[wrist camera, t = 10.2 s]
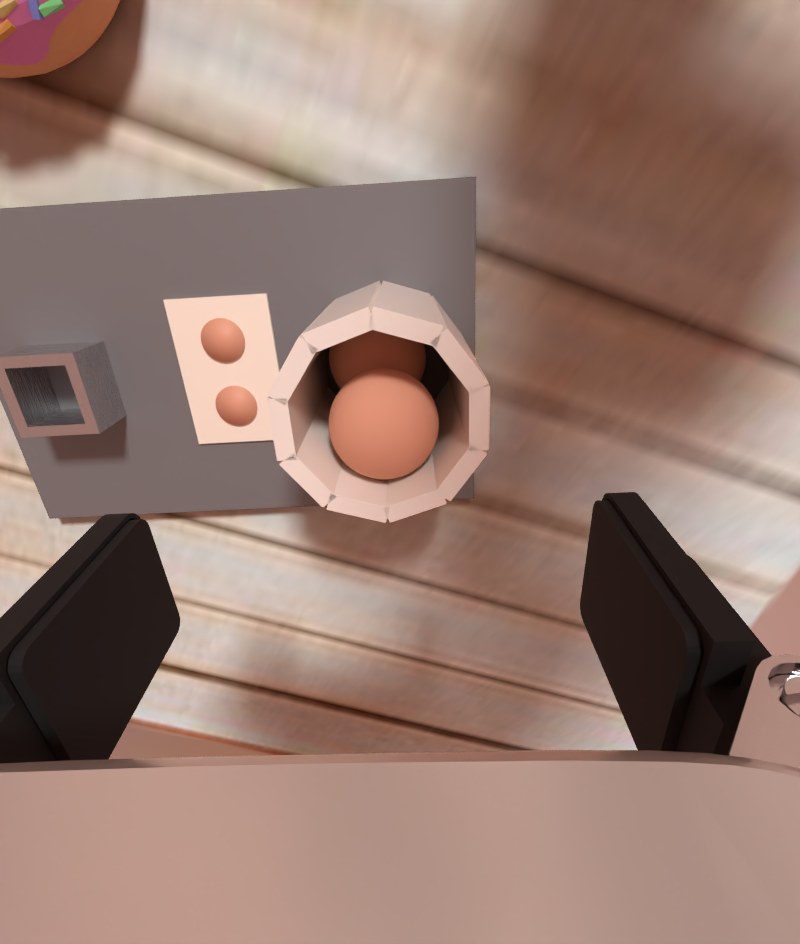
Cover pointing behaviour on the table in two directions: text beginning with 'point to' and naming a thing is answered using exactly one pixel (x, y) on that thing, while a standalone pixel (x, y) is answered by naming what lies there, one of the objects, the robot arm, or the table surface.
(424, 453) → the ball
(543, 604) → the table surface
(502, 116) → the table surface
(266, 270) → the board
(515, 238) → the table surface
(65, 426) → the grey hollow block
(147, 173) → the table surface
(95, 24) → the donut
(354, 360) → the tube ball
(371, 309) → the tube
